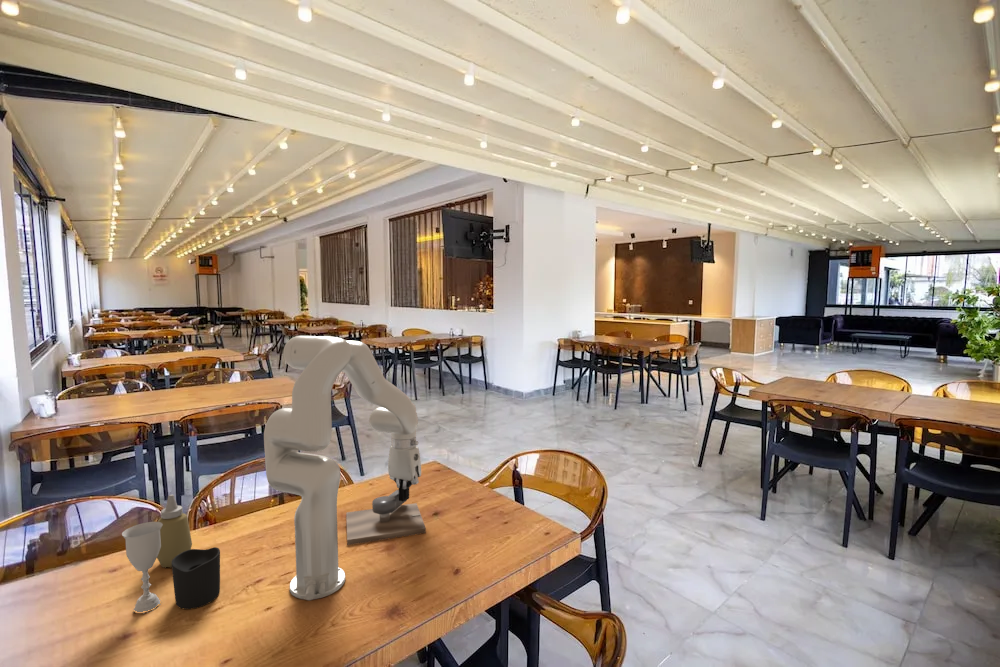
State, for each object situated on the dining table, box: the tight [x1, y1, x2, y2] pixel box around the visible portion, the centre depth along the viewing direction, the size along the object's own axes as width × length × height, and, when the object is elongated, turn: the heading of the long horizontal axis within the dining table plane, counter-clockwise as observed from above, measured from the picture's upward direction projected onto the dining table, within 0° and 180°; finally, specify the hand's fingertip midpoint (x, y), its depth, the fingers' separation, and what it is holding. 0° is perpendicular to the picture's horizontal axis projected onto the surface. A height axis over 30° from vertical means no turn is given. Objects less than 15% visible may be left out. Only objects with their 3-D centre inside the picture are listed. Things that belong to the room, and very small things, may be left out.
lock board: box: [346, 502, 427, 546], centre depth 147 cm, size 18×22×5 cm
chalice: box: [121, 521, 163, 612], centre depth 108 cm, size 7×7×18 cm
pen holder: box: [171, 547, 221, 610], centre depth 111 cm, size 9×9×10 cm
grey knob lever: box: [371, 488, 408, 514], centre depth 151 cm, size 7×16×5 cm, turn 162°
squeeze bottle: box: [156, 494, 193, 569], centre depth 126 cm, size 8×8×18 cm
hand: (404, 499), depth 152 cm, fingers closed
